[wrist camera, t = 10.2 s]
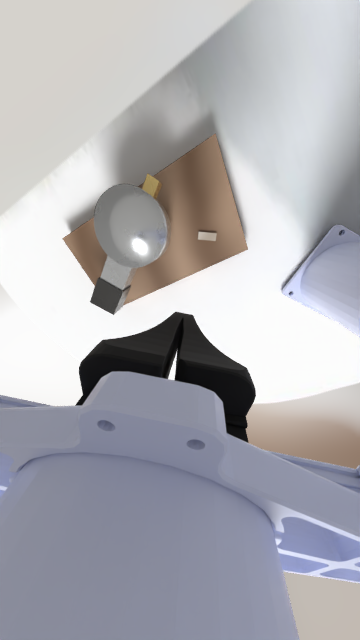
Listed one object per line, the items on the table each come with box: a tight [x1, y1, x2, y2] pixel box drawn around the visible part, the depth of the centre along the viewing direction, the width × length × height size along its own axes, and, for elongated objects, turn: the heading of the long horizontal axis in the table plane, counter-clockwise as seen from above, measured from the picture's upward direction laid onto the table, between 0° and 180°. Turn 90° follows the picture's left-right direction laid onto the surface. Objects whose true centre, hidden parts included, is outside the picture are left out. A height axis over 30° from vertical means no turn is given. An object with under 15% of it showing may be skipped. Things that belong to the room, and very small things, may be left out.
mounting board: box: [62, 133, 248, 305], centre depth 18 cm, size 10×18×2 cm, turn 115°
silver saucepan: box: [90, 174, 171, 315], centre depth 16 cm, size 13×6×3 cm, turn 150°
